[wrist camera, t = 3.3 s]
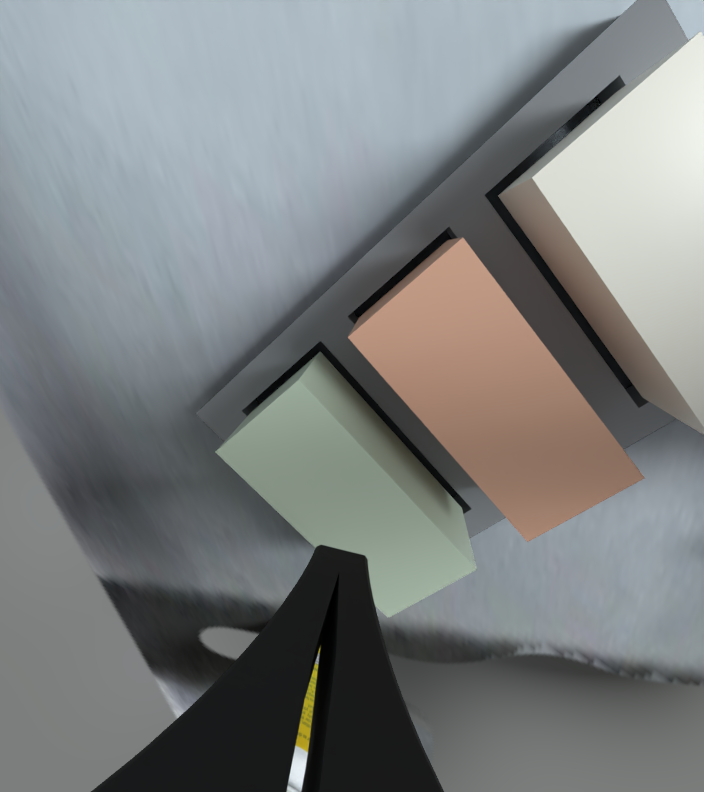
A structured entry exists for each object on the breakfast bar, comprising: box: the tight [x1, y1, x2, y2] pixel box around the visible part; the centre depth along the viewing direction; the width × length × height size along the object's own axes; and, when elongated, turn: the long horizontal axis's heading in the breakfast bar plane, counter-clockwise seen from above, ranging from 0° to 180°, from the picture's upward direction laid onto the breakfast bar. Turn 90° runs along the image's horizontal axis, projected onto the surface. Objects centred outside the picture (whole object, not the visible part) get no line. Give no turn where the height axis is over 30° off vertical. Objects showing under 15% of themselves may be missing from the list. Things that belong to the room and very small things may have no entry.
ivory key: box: [498, 32, 704, 435], centre depth 11 cm, size 9×4×4 cm, turn 41°
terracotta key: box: [348, 237, 644, 542], centre depth 13 cm, size 9×4×4 cm, turn 42°
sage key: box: [216, 352, 477, 618], centre depth 15 cm, size 9×4×4 cm, turn 41°
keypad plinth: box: [196, 0, 688, 539], centre depth 16 cm, size 12×20×2 cm, turn 131°
